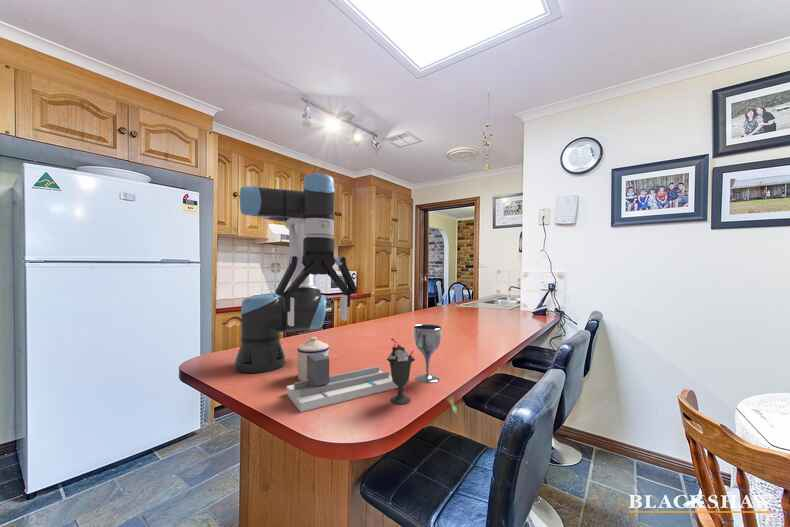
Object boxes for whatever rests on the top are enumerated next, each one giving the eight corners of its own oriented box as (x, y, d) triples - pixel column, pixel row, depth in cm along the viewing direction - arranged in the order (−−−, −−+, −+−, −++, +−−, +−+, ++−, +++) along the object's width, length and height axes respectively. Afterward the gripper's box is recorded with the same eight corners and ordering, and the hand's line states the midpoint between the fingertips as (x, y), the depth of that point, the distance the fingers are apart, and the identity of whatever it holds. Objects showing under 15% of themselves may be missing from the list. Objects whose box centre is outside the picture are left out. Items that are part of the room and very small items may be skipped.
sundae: (381, 399, 77) (381, 337, 77) (402, 392, 81) (402, 334, 81) (397, 408, 72) (397, 342, 72) (419, 401, 76) (419, 338, 76)
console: (286, 393, 80) (286, 380, 80) (375, 374, 95) (375, 363, 95) (300, 412, 70) (300, 396, 70) (397, 387, 85) (397, 374, 85)
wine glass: (437, 385, 86) (437, 330, 87) (410, 381, 89) (410, 328, 90) (444, 376, 94) (444, 325, 94) (418, 372, 97) (418, 323, 97)
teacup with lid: (315, 384, 87) (316, 342, 87) (290, 380, 90) (290, 339, 90) (340, 371, 98) (340, 333, 98) (316, 367, 101) (317, 331, 101)
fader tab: (306, 385, 80) (306, 355, 80) (320, 382, 82) (320, 352, 82) (314, 393, 75) (314, 360, 75) (329, 389, 77) (329, 358, 77)
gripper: (269, 233, 69) (269, 330, 69) (369, 238, 83) (369, 320, 83) (262, 235, 75) (262, 325, 75) (356, 240, 89) (356, 316, 89)
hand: (318, 322), depth 79 cm, fingers open, 13 cm apart
